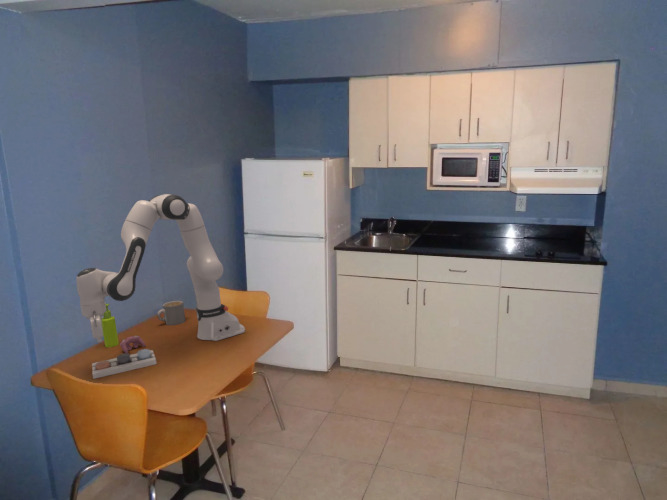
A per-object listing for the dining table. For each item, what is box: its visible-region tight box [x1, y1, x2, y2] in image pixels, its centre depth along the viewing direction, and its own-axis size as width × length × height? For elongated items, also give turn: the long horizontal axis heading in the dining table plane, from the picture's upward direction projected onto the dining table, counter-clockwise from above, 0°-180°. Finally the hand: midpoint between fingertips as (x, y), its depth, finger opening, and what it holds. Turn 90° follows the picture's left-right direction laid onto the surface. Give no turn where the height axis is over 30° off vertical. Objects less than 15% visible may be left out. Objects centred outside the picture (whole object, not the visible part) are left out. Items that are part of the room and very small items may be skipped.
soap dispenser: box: [102, 303, 120, 348], centre depth 225 cm, size 6×7×20 cm
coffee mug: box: [156, 300, 186, 326], centre depth 252 cm, size 13×10×10 cm
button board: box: [91, 349, 158, 380], centre depth 202 cm, size 24×12×2 cm, turn 117°
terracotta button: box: [96, 360, 110, 370], centre depth 198 cm, size 5×5×3 cm
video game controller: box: [119, 335, 146, 354], centre depth 219 cm, size 10×5×7 cm, turn 142°
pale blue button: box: [136, 348, 152, 361], centre depth 205 cm, size 5×5×3 cm
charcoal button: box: [116, 352, 132, 366], centre depth 201 cm, size 5×5×3 cm
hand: (99, 341), depth 196 cm, fingers closed
